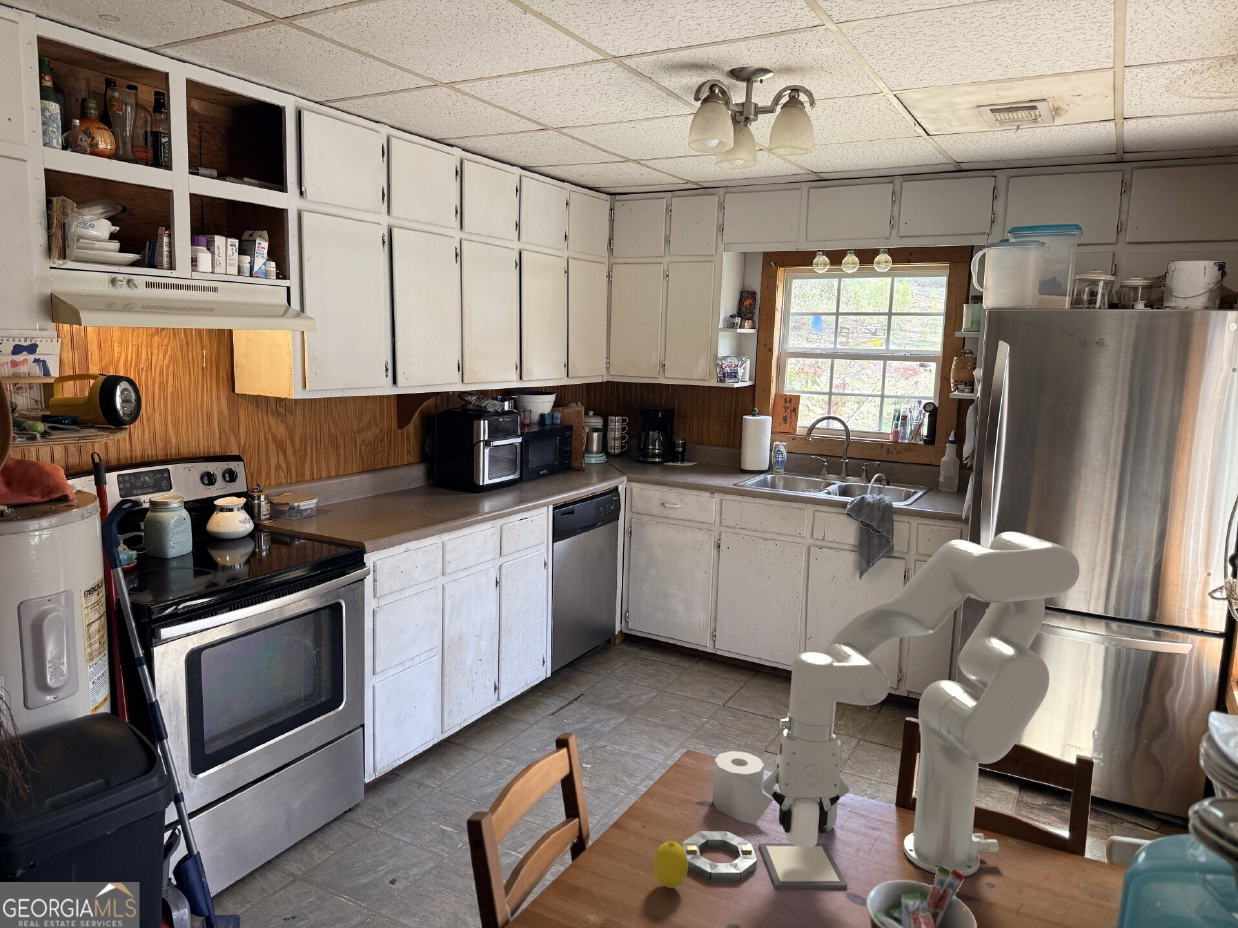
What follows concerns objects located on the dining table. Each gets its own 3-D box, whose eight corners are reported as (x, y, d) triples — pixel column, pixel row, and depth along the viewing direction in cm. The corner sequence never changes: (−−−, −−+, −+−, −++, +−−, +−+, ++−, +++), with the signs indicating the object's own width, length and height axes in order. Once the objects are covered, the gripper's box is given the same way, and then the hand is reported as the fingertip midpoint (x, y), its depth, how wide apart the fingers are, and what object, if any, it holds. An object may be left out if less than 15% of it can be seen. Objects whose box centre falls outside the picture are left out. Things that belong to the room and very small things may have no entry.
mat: (824, 846, 147) (825, 842, 147) (847, 888, 136) (847, 884, 135) (759, 846, 147) (759, 842, 147) (775, 888, 135) (775, 884, 135)
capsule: (794, 848, 137) (797, 803, 136) (780, 831, 142) (783, 787, 142) (822, 845, 139) (826, 801, 138) (808, 828, 144) (811, 785, 143)
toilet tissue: (759, 830, 152) (762, 786, 151) (703, 802, 161) (705, 760, 160) (786, 813, 158) (789, 770, 157) (731, 786, 168) (733, 746, 167)
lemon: (676, 902, 130) (679, 855, 129) (646, 890, 133) (648, 843, 132) (692, 884, 135) (694, 839, 134) (663, 873, 138) (665, 828, 137)
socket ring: (746, 839, 149) (746, 828, 148) (761, 881, 137) (762, 868, 136) (679, 839, 148) (679, 827, 148) (688, 881, 136) (689, 868, 136)
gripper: (765, 735, 134) (757, 840, 136) (868, 738, 135) (858, 842, 137) (755, 716, 141) (748, 815, 143) (852, 719, 143) (843, 817, 145)
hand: (802, 827), depth 140 cm, fingers closed on capsule, 5 cm apart
